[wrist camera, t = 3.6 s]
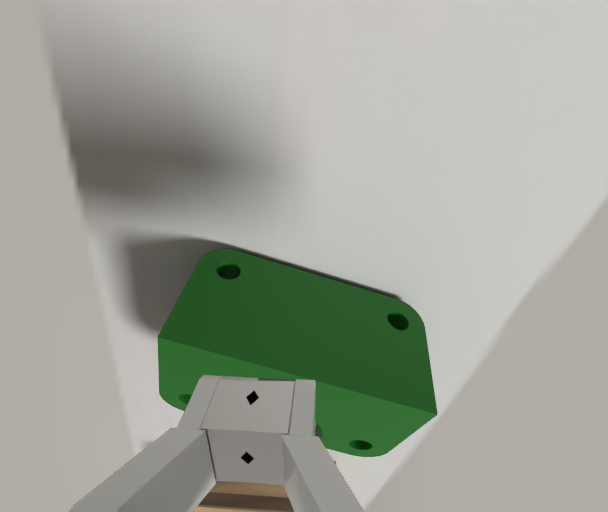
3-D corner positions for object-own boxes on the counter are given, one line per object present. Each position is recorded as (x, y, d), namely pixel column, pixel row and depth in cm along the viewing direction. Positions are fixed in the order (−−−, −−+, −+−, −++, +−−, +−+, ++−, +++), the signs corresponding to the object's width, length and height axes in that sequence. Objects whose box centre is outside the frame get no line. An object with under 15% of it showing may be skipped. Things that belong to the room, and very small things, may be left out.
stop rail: (185, 450, 26) (165, 502, 23) (335, 459, 25) (336, 514, 22) (192, 476, 27) (174, 528, 24) (334, 486, 26) (334, 541, 23)
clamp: (247, 283, 24) (133, 382, 17) (264, 214, 20) (123, 310, 13) (403, 390, 21) (338, 556, 15) (459, 336, 17) (403, 532, 11)
